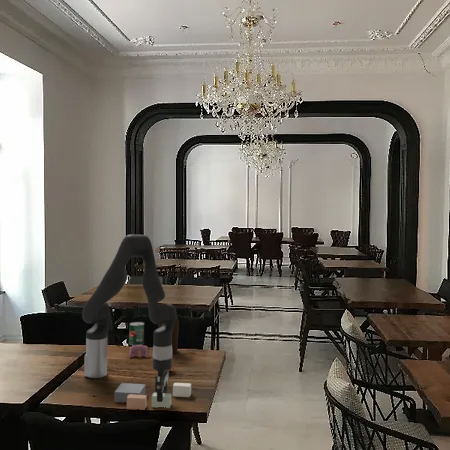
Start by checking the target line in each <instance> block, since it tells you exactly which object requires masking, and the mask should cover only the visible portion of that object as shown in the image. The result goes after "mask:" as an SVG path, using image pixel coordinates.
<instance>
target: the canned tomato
mask: <svg viewBox="0 0 450 450" xmlns="http://www.w3.org/2000/svg"><path fill="white" fill-rule="evenodd" d="M128 334H129V337H128V338H129V340H128V341H129V343H128V344H129V345H131V346H135V345H144V343H145V322H143V321H134V322H133V321H132V322H130V323H129V333H128Z"/></svg>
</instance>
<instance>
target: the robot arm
mask: <svg viewBox="0 0 450 450" xmlns="http://www.w3.org/2000/svg"><path fill="white" fill-rule="evenodd" d="M131 258H141V259H142V261H143V263H144V272H143V276H142V280H141V281H142V286H143V287H142V289H143V291H144V293H145V296H146V298H147V305H148V317H149V320H150V322H152V324H154V325H158V324H162V323H163V325H162V327H160V328H159V327H158V328H156V329H155V330H154V331H153V346H152V347H153V348H152V369H153V370H155V371H157V373H156V375H155V380H154V381H155V384H154V386H155V387H154V393H157V402H162V401H163V393H168V384H169V380H170V372H169V371H170V369H171V368H172V369H173V367H172V363H173V354H172V332H173V328H174V324H175V321H176V316H177V315H178V313H177V309H176V307H175V305H173V303H165V304H159V302H162V301H163V300H164V299H165V297H166V293H165V290H164V288H163V285H162V282H161V280H160V277H159V274H158V273H159V272H158V269H157V264H156V259H155V254H154V249H153V244H152V242H151V240H150V238H149V236H147V235H145V234H133V233H132V234H127V235H126V236H124V238H123V239H122V241H121V243H120V245H119V247H118V250H117V251H116V254H115V256H114V258H113V260H112V262H111V264H110V266H109V268H108V269H107V271H106V272H105V274H104V275H103V277H102V279H101V281H100V282H99V284H98V286H97V287H96V289H95V290H94V293H92V295H91V296H90V298H89V299H88V300H87V301H86V303H85V304H84V306H83V308H82V312H81V318H82V320H83V321H84V322H85V323H86V324H94V325H93V326H92V327H91V328H89V329H87V331H86V332H85V333H86V336H85V338H86V339H85V341H86V342H85V347H86V349H85V354H84V366H83V367H84V368H83V369H84V371H83V373H84V374H83V376H84V377H88V378H90V379H91V378H92V379H98V378H103V377H106V376H107V375H108V374H107V373H108V333H109V330H110V317H111V315H110V313H111V311H110V305H109V304H108V303H107V302H108V301H110V300H112V299H113V298H114V297H116V296H117V295H118V294H119V293H120V292H121V291H122V290H123V287H124V286H125V284H126V282H127V280H128V271H127V268H126V267H127V264H128V262H129V261H130V260H131ZM177 317H178V316H177Z"/></svg>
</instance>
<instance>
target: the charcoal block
mask: <svg viewBox="0 0 450 450" xmlns="http://www.w3.org/2000/svg"><path fill="white" fill-rule="evenodd" d="M146 387H147V386H146V383H145V384H143V383H129V382H127V383H125V382H121V383H120V384H119V386H118V387H117V388H116V389H115V391H114V401H113V402H114V403H124V402H126V403H125V404H127V397H128V395H129V394H133V395H146Z"/></svg>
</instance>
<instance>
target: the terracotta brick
mask: <svg viewBox="0 0 450 450" xmlns="http://www.w3.org/2000/svg"><path fill="white" fill-rule="evenodd" d="M147 406H148V395H147V394H145V395H133V394H129V395H128V397H127V403H126V410H137V409H139V410H141V411H143V410H144V411H145V410H146V409H147ZM145 408H146V409H145Z"/></svg>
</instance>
